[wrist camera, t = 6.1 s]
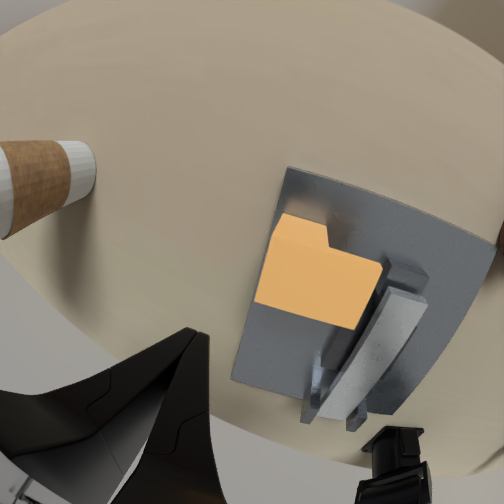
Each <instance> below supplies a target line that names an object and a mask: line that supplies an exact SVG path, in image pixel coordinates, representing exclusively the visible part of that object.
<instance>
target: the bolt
mask: <svg viewBox="0 0 504 504" xmlns="http://www.w3.org/2000/svg"><path fill="white" fill-rule="evenodd" d="M499 242H500V246H501V250H502V253H503V255H504V222H503V224H502V227H501V231H500V237H499Z"/></svg>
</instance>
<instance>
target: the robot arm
mask: <svg viewBox="0 0 504 504" xmlns="http://www.w3.org/2000/svg"><path fill="white" fill-rule="evenodd" d="M209 341H210V337H209V335H208V334H205V333H202V332H197V331H196V330H194V329H191V328H189V327H186V328H184V329H182V330H180V331H178V332H176V333H175V334H173V335H171V336H169V337H167V338H165V339H163V340H162V341H160V342H158V343H156V344H154V345H152V346H150V347H148V348H147V349H145V350H143V351H141V352H139V353H137V354H135V355H133V356H131V357H129V358H128V359H126V360H124V361H122V362H120V363H118V364H116V365H114V366H112V367H110V368H108V369H106V370H104V371H102V372H100V373H98V374H96V375H94V376H92V377H89V378H87V379H84V380H82V381H79V382H76V383H74V384H71V385H68V386H65V387H62V388H59V389H56V390H53V391H50V392H47V393H43V394H38V395H24V394H18V393H13V392H8V391H3V390H0V504H107V502H108V501H109V499H110V498H111V496H112V495H113V493H114V492H115V490H116V488H117V487H118V485H119V484H120V482H121V480H122V479H123V477H124V475H125V474H126V472H127V471H128V469H129V467H130V466H131V464H132V463H133V461H134V459H135V458H136V456H137V455H138V453H139V451H140V450H141V448H142V447H143V445H144V443H145V442H146V440H147V438H148V437H149V438H148V441H147V443H146V446H145V448H144V451H143V454H142V456H141V459H140V461H139V463H138V465H137V467H136V469H135V470H134V471H133V473H132V474H131V476H130V477H129V479H128V480H127V481H126V483H125V484H124V486H123V487H122V488H121V490H120V491H119V492H118V494H117V495H116V497H115V498H114V499H113V501H112V502H111V504H227V502H226V500H225V497H224V495H223V492H222V488H221V485H220V481H219V477H218V472H217V468H216V464H215V459H214V454H213V449H212V443H211V437H210V422H209V421H210V420H209ZM423 433H424V429H423V428H408V427H395V426H386V427H385V428H383V429H382V430H381V431H380V432H379V433H378V434H377V435H376V436H375V437H374V438H373V439H372V440H371V441H370V442H369V443H368V444H367V445H366V446H365V447H363V449H362V451H363V452H368V453H372V476H373V478H372V479H368V480H362V481H360V482H359V486H358V488H357V494H356V498H355V503H354V504H431V503H432V481H431V475H430V469H429V467H428V464H427V461H424V462H422V463H420V454H421V452H420V446H419V440H418V437H419V436H420V435H422V434H423ZM422 477H423V479H421V478H422Z"/></svg>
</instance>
